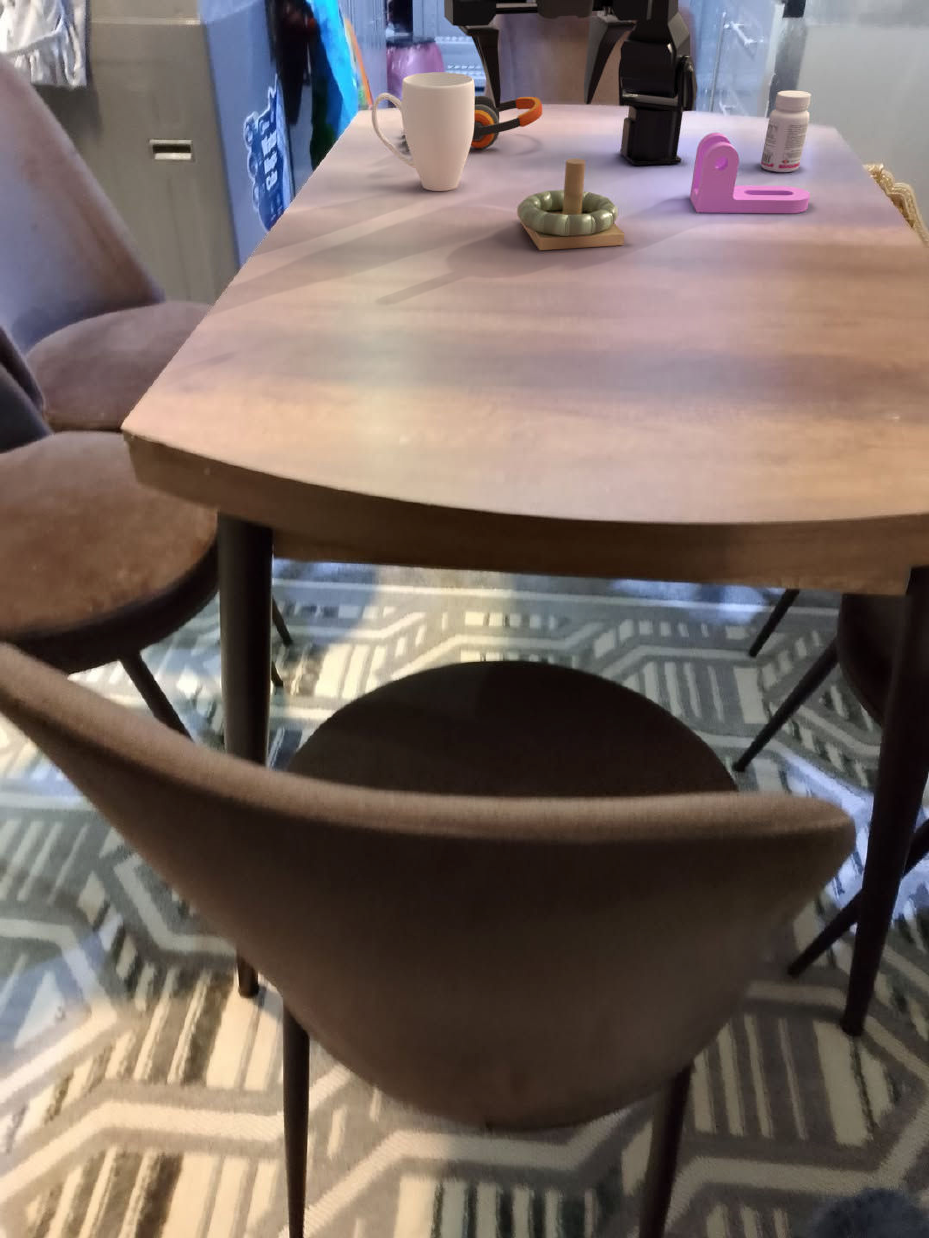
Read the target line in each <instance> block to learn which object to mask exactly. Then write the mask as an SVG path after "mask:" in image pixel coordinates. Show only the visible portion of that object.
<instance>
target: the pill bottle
mask: <svg viewBox="0 0 929 1238" xmlns="http://www.w3.org/2000/svg"><path fill="white" fill-rule="evenodd" d="M811 97H812V94H811V93H810V92H807V91H801V90H782V91H778V92H777V93H776V97H775V103H774V107H775V109H773V110H772V111H771V112H770V115H769V118H768V124H767V130H766V134H765V139H764V144H763V149H762V155H761V160H760V167H761V169H763V170H765V171H769V172H776V173H791V172H794V171H797V170H798V169H799V168H800V164H801V159H802V154H803V150H804V146H805V145H804V144H805V140H806V136H807V132H808V126H809V121H810V112H808V110H807V109H809V107H810V102H811Z"/></svg>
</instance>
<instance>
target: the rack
mask: <svg viewBox="0 0 929 1238" xmlns="http://www.w3.org/2000/svg"><path fill="white" fill-rule="evenodd" d="M585 174H586V160H585V159H582V158H569V159H566V160H565V170H564V185H563V190H564V198H563V210H557V211H547V213H554V214H563V215H577V214H589V213H587V212H582V200H583V191H584V188H585V187H584V185H585ZM520 223H521V225H522V227H523V228H524V230H525V231H526V232H527V235H528V236H529V237H530V238H531V241H533V243H534V244H535V245H536V248H537V249H538V250H539V251H550V250H563V249H564V250H566V249H581V248H598V247H615V246H623V245H624V241H625V240H624V239H625V233H624V232H623V230H621V228H620V227H619V226H618V225H617V224H616V223H615V222H614V223H613V224H612V226H611V227H610V228H609V229H607V230H604V231H601V232H598V233H594V234H591V235H580V236H559V235H551V234H544V233H541V232H538V231H535V230H532V229H530V228H527V227H526V226H524V224H523V223H522V221H521V220H520Z"/></svg>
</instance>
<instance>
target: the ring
mask: <svg viewBox="0 0 929 1238" xmlns="http://www.w3.org/2000/svg"><path fill="white" fill-rule="evenodd" d="M563 198H564V189H560V190H559V189H558V190H556V189H555V190H545V191H541V192H538V193H534V194H530V195H528V196H526V197H525V198H524V199H523V200H522V201H521V202H520V203H519V204H518V206H517V209H516V214H517V217H518V219H519V221H520V222H521V221H522V223H523V224H524V226H526V227H527V228H530V229H532V230H535V231H538V232H541V233H544V234H551V235H559V236H580V235H591V234H594V233H598V232H601V231H604V230H607V229H609V228H610V227H611V226H612V224H613V223H615V222H616V220H617V219H618V217H619V209H618V207H617V206H616V204H615V203H614V202H613V201H612V200H611V199H610V198H609V197H606V196H604V195H601V194H597V193H594V192H590V191H584V190H583V200H582V212H587V213H589V214H577V215H563V214H554V213H547V211H557V210H563Z"/></svg>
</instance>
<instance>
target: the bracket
mask: <svg viewBox="0 0 929 1238" xmlns="http://www.w3.org/2000/svg"><path fill="white" fill-rule="evenodd" d="M738 153H739V152H737V150H736V149H735V147H734V146H733V145H732V144H731V141H730V140H729V139H728V137H727V136H726V135H725V134H723V133H721V132H716V131H715V132H711V133H709V134H706V135H705V136H703V138H702V139H701V140H700V142H698V145H697V148H696V154H695V160H694V166H693V173H692V179H691V185H690V193H689V199H690V201H691V204H692V205H693V208H694V209H695V211H696V213H712V214H713V213H714V214H715V213H717V214H720V213H721V214H724V213H725V214H798V213H803V212H805V211H807V210H808V207H809V204H810V203H809V202H810V198H811V193H810V192H809V191H807V190H805V189H803V188H799V187H795V186H789V185H749V184H748V185H743V184H742V185H741V184H739V185H738V184H737V185H736V181H737V176H738V169H739V165H740V157H739V154H738Z"/></svg>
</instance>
